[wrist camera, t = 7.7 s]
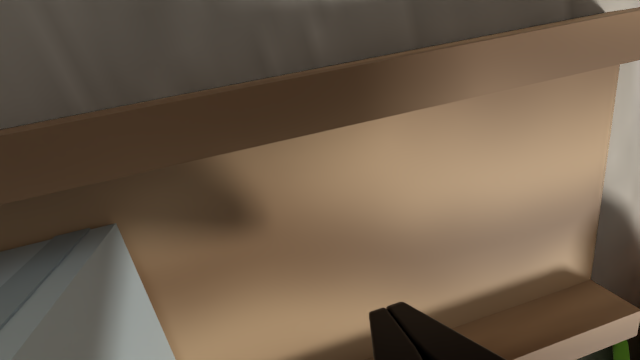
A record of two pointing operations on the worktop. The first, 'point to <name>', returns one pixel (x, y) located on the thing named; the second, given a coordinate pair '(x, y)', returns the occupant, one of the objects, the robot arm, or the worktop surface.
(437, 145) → the bay
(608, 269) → the worktop surface
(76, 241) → the block
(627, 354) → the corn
